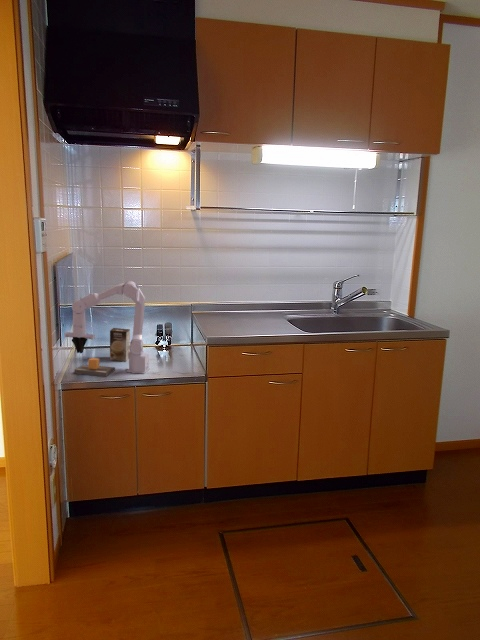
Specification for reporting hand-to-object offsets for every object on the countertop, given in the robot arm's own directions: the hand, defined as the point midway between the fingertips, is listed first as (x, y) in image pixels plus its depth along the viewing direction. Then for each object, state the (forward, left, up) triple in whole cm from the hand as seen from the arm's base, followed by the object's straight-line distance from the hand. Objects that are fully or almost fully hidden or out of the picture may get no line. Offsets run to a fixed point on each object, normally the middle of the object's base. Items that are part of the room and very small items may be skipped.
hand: (80, 352), depth 242 cm
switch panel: (-7, 0, -9) cm, 12 cm away
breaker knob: (-7, 0, -7) cm, 10 cm away
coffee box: (-10, -24, -10) cm, 28 cm away
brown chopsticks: (-7, -6, -9) cm, 13 cm away
